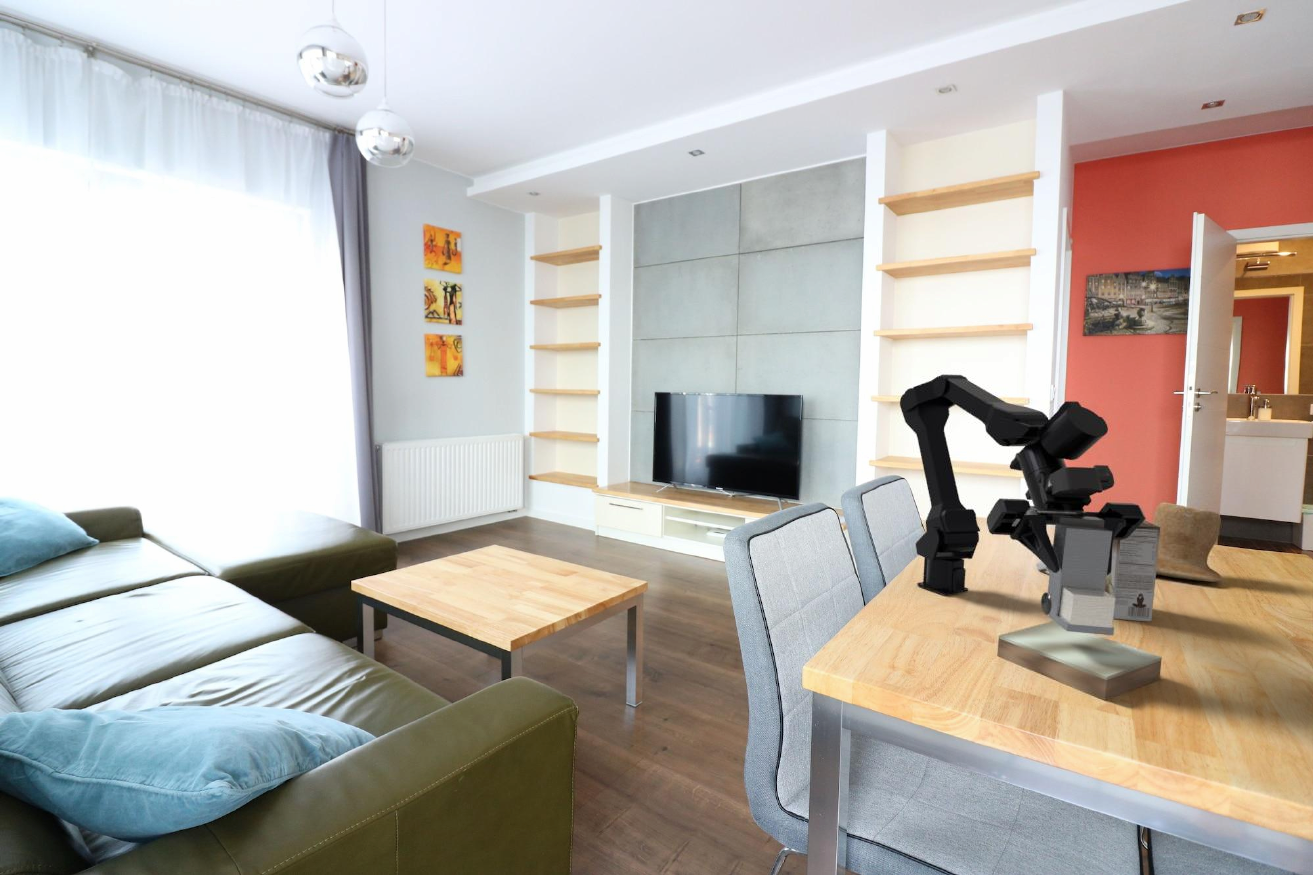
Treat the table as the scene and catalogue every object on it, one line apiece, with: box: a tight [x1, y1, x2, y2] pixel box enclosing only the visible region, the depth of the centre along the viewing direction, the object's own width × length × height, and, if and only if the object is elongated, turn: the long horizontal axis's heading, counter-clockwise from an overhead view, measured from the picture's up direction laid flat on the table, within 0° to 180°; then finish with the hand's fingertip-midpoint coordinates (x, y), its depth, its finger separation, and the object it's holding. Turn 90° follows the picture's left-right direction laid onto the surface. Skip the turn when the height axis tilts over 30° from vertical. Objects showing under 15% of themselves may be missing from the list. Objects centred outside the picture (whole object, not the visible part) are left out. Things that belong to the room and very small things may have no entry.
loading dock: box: [997, 620, 1163, 701], centre depth 86 cm, size 14×13×3 cm
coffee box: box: [1105, 520, 1161, 622], centre depth 108 cm, size 9×6×16 cm
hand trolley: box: [1040, 514, 1116, 636], centre depth 85 cm, size 8×6×14 cm
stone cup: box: [1152, 502, 1222, 583], centre depth 130 cm, size 15×12×15 cm
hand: (1082, 572), depth 84 cm, fingers closed on hand trolley, 6 cm apart
